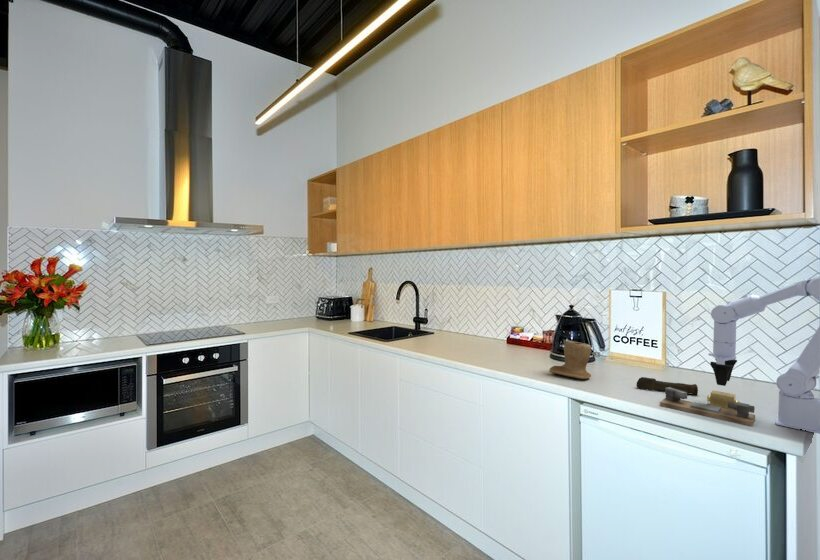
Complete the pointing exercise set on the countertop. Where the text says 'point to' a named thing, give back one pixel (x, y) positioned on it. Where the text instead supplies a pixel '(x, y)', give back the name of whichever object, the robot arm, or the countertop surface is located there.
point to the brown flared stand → (574, 360)
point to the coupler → (721, 399)
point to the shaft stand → (709, 408)
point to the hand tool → (665, 385)
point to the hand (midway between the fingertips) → (723, 382)
